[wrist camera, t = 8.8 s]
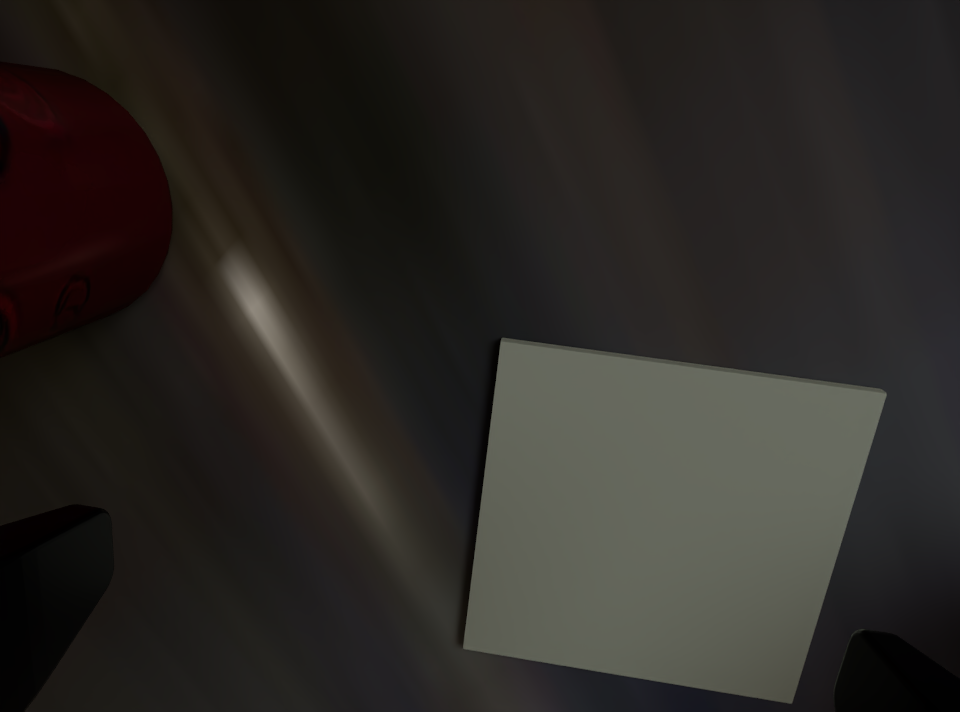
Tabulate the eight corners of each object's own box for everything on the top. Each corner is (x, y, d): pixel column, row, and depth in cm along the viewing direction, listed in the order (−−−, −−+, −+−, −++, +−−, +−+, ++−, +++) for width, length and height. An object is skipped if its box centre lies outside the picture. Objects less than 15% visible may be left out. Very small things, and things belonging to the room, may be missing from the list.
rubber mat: (881, 389, 20) (887, 393, 20) (788, 694, 24) (791, 703, 23) (501, 337, 21) (500, 341, 21) (464, 641, 24) (462, 648, 24)
